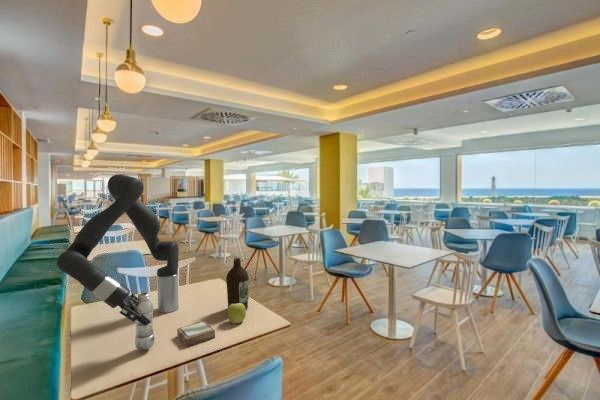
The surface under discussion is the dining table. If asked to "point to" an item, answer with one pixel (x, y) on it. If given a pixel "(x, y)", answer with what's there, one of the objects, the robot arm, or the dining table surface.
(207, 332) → the walnut base
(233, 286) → the olive oil
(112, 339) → the dining table surface
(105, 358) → the dining table surface
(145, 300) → the plastic bottle
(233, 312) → the apple
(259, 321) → the dining table surface
